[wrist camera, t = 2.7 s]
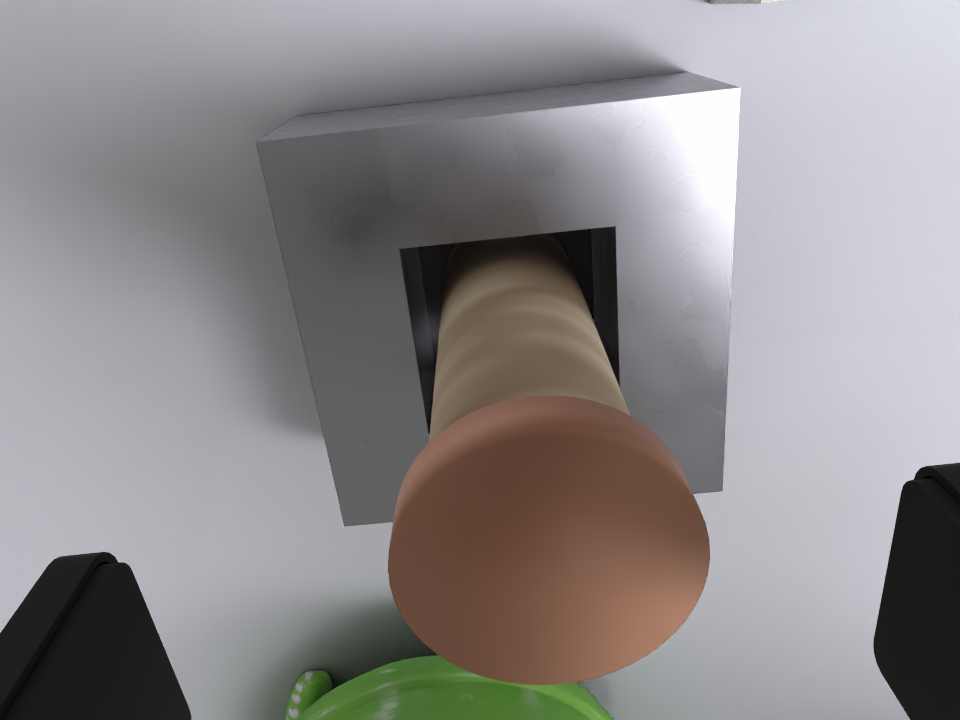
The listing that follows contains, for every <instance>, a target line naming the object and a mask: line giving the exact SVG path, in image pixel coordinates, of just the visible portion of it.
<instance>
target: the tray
mask: <svg viewBox="0 0 960 720" xmlns="http://www.w3.org/2000/svg"><path fill="white" fill-rule="evenodd" d="M777 1H786V0H710V4H750V3H769V2H777Z"/></svg>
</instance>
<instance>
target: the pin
mask: <svg viewBox="0 0 960 720" xmlns="http://www.w3.org/2000/svg"><path fill="white" fill-rule="evenodd" d="M709 560H710V548H709V537H708V533H707V528H706V524H705V521H704V519H703V516H702V514H701V511H700V509H699V507H698V504H697V502H696V500H695V498H694V496H693V493H692V491H691V489H690V487H689V485H688V483H687V480H686V478H685V476H684V474H683V472H682V469H681V467H680V465H679V463H678V462H677V460H676V458H675V457H674V455H673V454H672V452H671V450H670V449H669V448H668V447H667V446H666V445H665V443H664V442H663V441H662V440H661V439H660V438H659V437H658V436H657V435H656V434H655V433H654V432H653V431H651V430H650V429H649V428H648V427H647V426H646V425H644V424H643V423H641V422H640V421H638V420H636V419H635V418H633V417H632V416H630V413H629V411H628V408H627V406H626V403H625V401H624V398H623V395H622V393H621V390H620V388H619V385H618V383H617V380H616V378H615V375H614V372H613V370H612V367H611V365H610V362H609V360H608V357H607V355H606V352H605V350H604V347H603V344H602V342H601V339H600V337H599V334H598V332H597V329H596V327H595V324H594V322H593V319H592V316H591V314H590V311H589V309H588V306H587V304H586V301H585V299H584V296H583V293H582V291H581V288H580V286H579V283H578V281H577V278H576V276H575V273H574V271H573V268H572V265H571V263H570V260H569V258H568V255H567V253H566V251H565V249H564V247H563V245H562V244H561V242H560V241H559V240H558V239H557V237H556V236H555V235H554V234H553V233H545V234H535V235H526V236H517V237H507V238H498V239H488V240H479V241H469V242H460V243H456V244H455V246H454V247H453V249H452V251H451V253H450V255H449V257H448V260H447V263H446V268H445V276H444V287H443V297H442V308H441V319H440V330H439V340H438V351H437V362H436V372H435V383H434V394H433V404H432V415H431V426H430V437H429V443H428V444H427V445H426V446H425V447H424V449H423V450H422V451H421V452H420V454H419V455H418V456H417V457H416V459H415V460H414V461H413V463H412V465H411V467H410V468H409V470H408V472H407V473H406V475H405V477H404V480H403V483H402V485H401V488H400V490H399V494H398V498H397V503H396V508H395V515H394V521H393V528H392V535H391V542H390V548H389V560H388V573H389V581H390V587H391V591H392V594H393V598H394V601H395V603H396V605H397V607H398V609H399V611H400V614H401V616H402V617H403V619H404V620H405V622H406V623H407V625H408V626H409V627H410V629H411V630H412V631H413V632H414V633H415V635H416V636H417V637H418V638H419V639H420V640H421V641H422V642H423V643H424V644H425V645H426V646H428V647H429V648H430V649H431V650H432V651H434V652H435V653H436V654H438V655H439V656H441V657H442V658H444V659H445V660H447V661H448V662H450V663H452V664H454V665H456V666H458V667H460V668H462V669H464V670H466V671H469V672H472V673H474V674H477V675H480V676H483V677H486V678H490V679H494V680H498V681H502V682H509V683H515V684H526V685H558V684H566V683H573V682H579V681H584V680H588V679H593V678H597V677H600V676H603V675H606V674H609V673H612V672H615V671H617V670H619V669H621V668H624V667H626V666H628V665H630V664H632V663H634V662H636V661H638V660H639V659H641V658H643V657H645V656H646V655H648V654H649V653H651V652H652V651H654V650H655V649H656V648H658V647H659V646H660V645H662V644H663V643H664V642H665V641H666V640H667V639H668V638H670V637H671V636H672V635H673V634H674V633H675V632H676V631H677V630H678V629H679V627H680V626H681V625H682V624H683V623H684V622H685V620H686V619H687V618H688V616H689V615H690V613H691V612H692V610H693V609H694V607H695V605H696V604H697V602H698V599H699V597H700V595H701V593H702V591H703V588H704V585H705V581H706V578H707V575H708V568H709Z"/></svg>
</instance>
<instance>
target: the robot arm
mask: <svg viewBox="0 0 960 720" xmlns="http://www.w3.org/2000/svg"><path fill="white" fill-rule="evenodd" d="M873 646H874V654H875V658H876V662H877V664H878V667H879V669H880V671H881V673H882V675H883V677H884V678H885V680H886V681H887V683H888V685H889V686H890V688H891V689H892V691H893V693H894V694H895V696H896V697H897V699H898V701H899V702H900V704H901V705H902V707H903V709H904V710H905V712H906V713H907V715H908V716H909V718H910V720H960V463H954V464H944V465H934V466H926V467H923V468H920V470H919V471H918V472H917V473H916V475H915V478H914V480H911V481H908V482H906V483H905V484H904V486H903V489H902V492H901V497H900V503H899V508H898V513H897V519H896V524H895V529H894V535H893V540H892V545H891V551H890V556H889V561H888V567H887V572H886V577H885V583H884V588H883V593H882V599H881V604H880V609H879V615H878V620H877V626H876V631H875V636H874V645H873ZM0 720H191V713H190V710H189V707H188V704H187V702H186V700H185V697H184V695H183V692H182V690H181V688H180V685H179V683H178V680H177V678H176V676H175V673H174V671H173V668H172V666H171V663H170V661H169V659H168V656H167V654H166V651H165V649H164V647H163V644H162V642H161V639H160V637H159V634H158V632H157V630H156V627H155V625H154V622H153V620H152V618H151V615H150V613H149V610H148V608H147V606H146V603H145V601H144V598H143V596H142V593H141V591H140V589H139V586H138V584H137V581H136V579H135V577H134V574H133V572H132V570H131V568H130V566H129V565H127V564H126V563H118V561H117V560H116V558H115V557H114V556H113V555H112V554H111V553H107V552H100V553H90V554H80V555H71V556H61V557H58V558H56V559H54V560H53V561H52V562H51V563H50V564H49V565H48V566H47V568H46V569H45V571H44V572H43V574H42V575H41V576H40V578H39V579H38V581H37V582H36V583H35V585H34V586H33V588H32V589H31V591H30V592H29V593H28V595H27V596H26V598H25V599H24V600H23V602H22V603H21V605H20V606H19V608H18V609H17V610H16V612H15V613H14V615H13V616H12V617H11V619H10V620H9V622H8V623H7V625H6V626H5V627H4V629H3V630H2V632H1V633H0Z"/></svg>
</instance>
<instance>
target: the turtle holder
mask: <svg viewBox="0 0 960 720" xmlns="http://www.w3.org/2000/svg"><path fill="white" fill-rule="evenodd" d="M285 720H613V718H612V717H611V716H610V715H609V714H608V713H607V711H606V710H605V709H604V708H603V707H602V706H601V705H600V704H599V702H598V701H597V700H596V699H595V698H594V697H593V696H592V695H591V694H590V693H589V692H588V691H587V690H586V689H585V688H583V687H582V686H581V685H580V684H579V683H577V682H573V683H566V684H558V685H526V684H515V683H509V682H502V681H498V680H494V679H490V678H486V677H483V676H480V675H477V674H474V673H472V672H469V671H466V670H464V669H462V668H460V667H458V666H456V665H454V664H452V663H450V662H448V661H447V660H445V659H444V658H442V657H441V656H439V655H436V656H424V657H415V658H410V659H405V660H400V661H396V662H393V663H389V664H386V665H383V666H381V667H378V668H376V669H374V670H371V671H369V672H366V673H364V674H362V675H360V676H358V677H356V678H354V679H351V680H349V681H347V682H346V683H344V684H342V685H340V686H338V687H336V688H334V689H333V690H332V682H331V679H330V676H329V674H328V672H325V671H321V670H315V671H308V672H305V673H304V674H302V675H301V676H300V677H299V678H298V680H297V681H296V683H295V684H294V686H293V688H292V690H291V693H290V696H289V700H288V704H287V709H286V715H285Z"/></svg>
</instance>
